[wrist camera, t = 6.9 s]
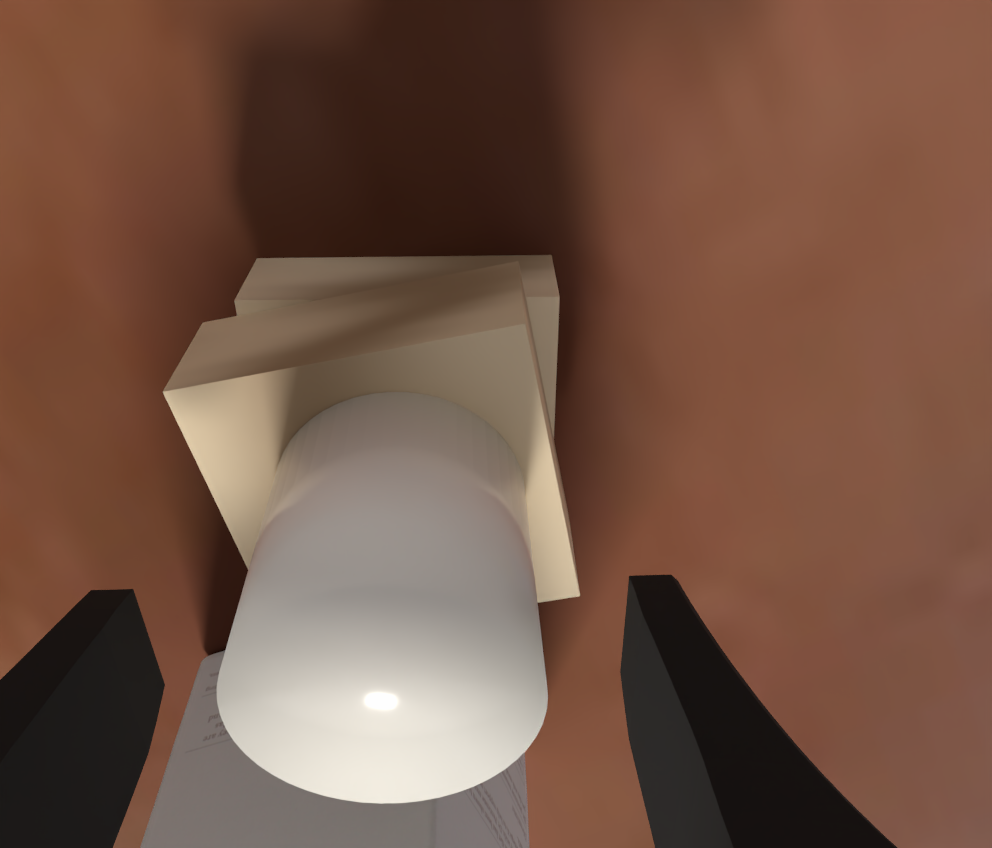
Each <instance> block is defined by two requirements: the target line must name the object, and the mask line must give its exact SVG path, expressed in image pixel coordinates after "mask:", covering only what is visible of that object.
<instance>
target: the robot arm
mask: <svg viewBox="0 0 992 848" xmlns="http://www.w3.org/2000/svg"><path fill="white" fill-rule="evenodd" d="M620 673H621V681H622V689H623V697H624V705H625V713H626V720H627V727H628V735H629V741H630V745H631V749H632V754H633V758H634V762H635V766H636V770H637V774H638V779H639V783H640V787H641V791H642V795H643V799H644V803H645V807H646V812H647V816H648V820H649V824H650V828H651V832H652V836H653V840H654V844H655V848H897V847H896V846H895V845H894V844H893V843H891V842H890V841H889V840H888V839H887V838H886V837H885V836H884V835H883V834H882V833H881V832H880V831H879V830H877V829H876V828H875V827H874V826H873V825H872V824H871V823H870V822H869V821H868V820H867V819H866V818H865V817H864V816H863V815H862V814H861V813H860V812H859V811H858V810H857V809H856V808H855V807H854V806H853V805H852V804H851V803H850V802H849V801H848V800H847V799H846V798H845V797H844V796H843V795H842V794H841V793H840V792H839V791H838V790H837V789H836V788H835V787H834V786H833V784H832V783H831V782H830V781H829V780H828V779H827V778H826V777H825V776H824V775H823V774H822V773H821V772H820V771H819V770H818V769H817V767H816V766H815V765H814V764H813V763H812V762H811V761H810V760H809V759H808V758H807V756H806V755H805V754H804V753H803V752H802V751H801V750H800V748H799V747H798V746H797V745H796V744H795V743H794V742H793V740H792V739H791V738H790V737H789V736H788V734H787V733H786V732H785V731H784V730H783V728H782V727H781V726H780V725H779V724H778V722H777V721H776V720H775V719H774V718H773V717H772V715H771V714H770V713H769V712H768V710H767V709H766V708H765V706H764V705H763V704H762V703H761V701H760V700H759V699H758V698H757V696H756V695H755V694H754V692H753V691H752V690H751V688H750V687H749V686H748V684H747V683H746V682H745V680H744V679H743V678H742V676H741V675H740V674H739V672H738V671H737V670H736V668H735V667H734V666H733V664H732V663H731V662H730V660H729V659H728V658H727V656H726V655H725V653H724V652H723V651H722V649H721V648H720V646H719V645H718V643H717V642H716V640H715V639H714V637H713V636H712V634H711V633H710V632H709V630H708V629H707V627H706V626H705V624H704V623H703V621H702V620H701V618H700V616H699V615H698V613H697V612H696V610H695V609H694V607H693V605H692V604H691V602H690V601H689V599H688V597H687V596H686V594H685V592H684V591H683V589H682V587H681V586H680V584H679V582H678V581H677V580H676V579H675V578H674V577H673V576H672V575H644V576H629V585H628V595H627V606H626V617H625V628H624V639H623V650H622V661H621V672H620ZM164 686H165V684H164V681H163V678H162V675H161V672H160V669H159V666H158V663H157V660H156V657H155V654H154V651H153V648H152V645H151V642H150V639H149V636H148V633H147V630H146V627H145V624H144V621H143V618H142V615H141V612H140V609H139V606H138V603H137V600H136V596H135V593H134V590H133V589H123V590H91V591H90V592H89V593H88V594H87V595H86V596H85V597H84V598H83V599H82V600H81V601H79V602H78V603H77V604H76V605H75V606H74V607H73V608H72V609H71V610H70V611H69V612H68V613H67V614H66V615H65V616H64V617H63V618H62V619H61V620H60V621H59V622H58V623H57V624H56V625H55V626H54V627H53V628H52V629H51V630H50V631H49V632H48V633H47V634H46V635H45V636H44V637H43V638H42V639H41V640H40V641H39V642H38V643H37V644H36V645H35V646H34V647H33V648H32V649H31V650H30V651H29V652H28V653H27V654H26V655H25V656H24V657H23V658H22V659H21V660H20V661H19V662H18V663H17V664H16V665H15V666H14V667H13V668H12V669H11V670H10V671H9V672H8V673H7V674H6V675H5V676H4V677H3V678H2V679H1V680H0V848H113V845H114V843H115V840H116V837H117V835H118V832H119V830H120V827H121V824H122V822H123V819H124V817H125V814H126V811H127V809H128V806H129V804H130V801H131V798H132V796H133V793H134V790H135V788H136V785H137V782H138V780H139V777H140V774H141V772H142V769H143V766H144V764H145V761H146V758H147V755H148V753H149V749H150V745H151V741H152V737H153V733H154V729H155V725H156V721H157V717H158V713H159V708H160V704H161V699H162V695H163V691H164Z"/></svg>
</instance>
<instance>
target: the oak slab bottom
mask: <svg viewBox="0 0 992 848" xmlns="http://www.w3.org/2000/svg"><path fill="white" fill-rule="evenodd" d="M516 261H519V266H520V271H521V276H522V281H523V286H524V291H525V297H526V302H527V307H528V312H529V317H530V322H531V327H532V332H533V337H534V342H535V347H536V352H537V357H538V362H539V367H540V372H541V377H542V382H543V387H544V393H545V398H546V403H547V408H548V413H549V418H550V423H551V428H552V433H553V438H554V424H555V399H556V374H557V349H558V325H559V300H560V296H559V291H558V286H557V280H556V275H555V270H554V265H553V260H552V255H499V256H411V257H324V258H257V259H256V261H255V263H254V265H253V267H252V268H251V270H250V272H249V274H248V276H247V278H246V280H245V281H244V283H243V285H242V287H241V289H240V291H239V293H238V294H237V296H236V298H235V300H234V302H235V307H236V313H237V316H239V315H244V314H249V313H255V312H260V311H265V310H270V309H275V308H280V307H285V306H290V305H296V304H301V303H306V302H311V301H316V300H321V299H326V298H331V297H337V296H342V295H347V294H352V293H357V292H362V291H367V290H372V289H378V288H383V287H388V286H393V285H398V284H403V283H408V282H413V281H419V280H424V279H429V278H434V277H439V276H444V275H449V274H454V273H460V272H465V271H470V270H475V269H480V268H485V267H490V266H495V265H501V264H506V263H511V262H516Z"/></svg>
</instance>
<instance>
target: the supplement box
mask: <svg viewBox="0 0 992 848" xmlns="http://www.w3.org/2000/svg"><path fill="white" fill-rule="evenodd" d="M224 653H225V650H224V651H221V652H218V653H215V654H212V655H209V656H207V657H205V658H204V659H203V660H202V662H201V665H200V667H199V670H198V673H197V676H196V679H195V682H194V685H193V688H192V691H191V694H190V698H189V701H188V704H187V707H186V710H185V713H184V716H183V719H182V722H181V725H180V727H179V730H178V733H177V737H176V740H175V743H174V746H173V749H172V752H171V755H170V758H169V761H168V764H167V767H166V770H165V774H164V777H163V780H162V783H161V786H160V789H159V792H158V795H157V798H156V801H155V804H154V807H153V810H152V813H151V816H150V819H149V823H148V826H147V829H146V832H145V835H144V838H143V841H142V844H141V847H140V848H529V830H528V808H527V786H526V769H525V753H523V754H522V755H521V756H520V757H519V758H518V759H517V760H516V761H515V762H513V763H512V764H511V765H510V766H508V767H507V768H506V769H505V770H503V771H502V772H500V773H498V774H497V775H495V776H494V777H492V778H490V779H488V780H486V781H484V782H482V783H480V784H478V785H476V786H474V787H471V788H469V789H466V790H463V791H460V792H458V793H454V794H451V795H447V796H443V797H440V798H435V799H429V800H424V801H417V802H407V803H384V804H380V803H362V802H354V801H347V800H341V799H336V798H332V797H327V796H323V795H319V794H316V793H313V792H310V791H307V790H304V789H301V788H299V787H296V786H294V785H292V784H289V783H287V782H285V781H283V780H281V779H279V778H278V777H276V776H274V775H272V774H270V773H269V772H267V771H266V770H265V769H263V768H262V767H260V766H259V765H257V764H256V763H255V762H254V761H253V760H251V759H250V758H249V757H248V756H247V755H246V754H245V753H244V752H243V751H242V750H241V749H240V748H239V747H238V745H237V744H236V743H235V742H234V741H233V739H232V738H231V736H230V734H229V733H228V731H227V730H226V728H225V726H224V723H223V721H222V719H221V716H220V713H219V708H218V704H217V681H218V676H219V671H220V667H221V664H222V660H223V657H224Z"/></svg>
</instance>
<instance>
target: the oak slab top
mask: <svg viewBox="0 0 992 848" xmlns="http://www.w3.org/2000/svg"><path fill="white" fill-rule="evenodd" d="M383 392H411V393H419V394H426V395H430V396H434V397H439V398H442V399H445V400H447V401H450V402H453V403H456V404H458V405H460V406H462V407H464V408H466V409H468V410H470V411H472V412H473V413H475V414H476V415H478V416H479V417H481V418H482V419H484V420H485V421H486V422H487V423H488V424H490V425H491V426H492V427H493V428H494V429H495V430H497V432H498V433H499V434H500V435H501V436H502V437H503V438H504V440H505V441H506V442H507V443H508V445H509V446H510V448H511V450H512V451H513V453H514V454H515V456H516V459H517V461H518V463H519V465H520V468H521V472H522V475H523V479H524V487H525V496H526V505H527V514H528V523H529V531H530V540H531V549H532V558H533V567H534V576H535V584H536V593H537V602H538V603H540V602H546V601H552V600H559V599H565V598H571V597H578V596H580V591H579V584H578V577H577V570H576V563H575V556H574V549H573V542H572V535H571V528H570V521H569V514H568V509H567V504H566V499H565V494H564V489H563V484H562V478H561V473H560V468H559V463H558V458H557V453H556V448H555V443H554V438H553V433H552V428H551V423H550V418H549V413H548V408H547V403H546V398H545V393H544V387H543V382H542V377H541V372H540V367H539V362H538V357H537V352H536V347H535V342H534V337H533V332H532V327H531V322H530V317H529V312H528V307H527V302H526V297H525V291H524V286H523V281H522V276H521V271H520V266H519V261H516V262H511V263H506V264H501V265H495V266H490V267H485V268H480V269H475V270H470V271H465V272H460V273H454V274H449V275H444V276H439V277H434V278H429V279H424V280H419V281H413V282H408V283H403V284H398V285H393V286H388V287H383V288H378V289H372V290H367V291H362V292H357V293H352V294H347V295H342V296H337V297H331V298H326V299H321V300H316V301H311V302H306V303H301V304H296V305H290V306H285V307H280V308H275V309H270V310H265V311H260V312H255V313H249V314H244V315H239V316H234V317H229V318H224V319H219V320H213V321H208V322H203V323H202V325H201V326H200V328H199V330H198V332H197V333H196V335H195V337H194V339H193V340H192V342H191V344H190V345H189V347H188V349H187V351H186V352H185V354H184V356H183V358H182V359H181V361H180V363H179V364H178V366H177V368H176V370H175V371H174V373H173V375H172V377H171V378H170V380H169V382H168V383H167V385H166V387H165V389H164V390H163V394H164V396H165V398H166V400H167V402H168V404H169V406H170V408H171V410H172V413H173V415H174V417H175V419H176V421H177V423H178V425H179V427H180V429H181V431H182V433H183V435H184V437H185V440H186V442H187V444H188V446H189V448H190V450H191V452H192V454H193V456H194V458H195V460H196V462H197V464H198V467H199V469H200V471H201V473H202V475H203V477H204V479H205V481H206V483H207V485H208V487H209V489H210V491H211V494H212V496H213V498H214V500H215V502H216V504H217V506H218V508H219V510H220V512H221V514H222V516H223V518H224V521H225V523H226V525H227V527H228V529H229V531H230V533H231V535H232V537H233V539H234V541H235V543H236V545H237V548H238V550H239V552H240V554H241V556H242V558H243V560H244V562H245V564H246V566H247V568H248V569H249V566H250V562H251V559H252V555H253V552H254V548H255V545H256V541H257V538H258V534H259V531H260V527H261V524H262V520H263V517H264V513H265V509H266V506H267V502H268V499H269V495H270V492H271V488H272V485H273V481H274V478H275V474H276V471H277V467H278V464H279V462H280V459H281V457H282V454H283V452H284V450H285V449H286V447H287V445H288V443H289V442H290V440H291V439H292V438H293V437H294V435H295V434H296V433H297V432H298V430H299V429H300V428H302V427H303V426H304V425H305V424H306V423H307V422H308V421H309V420H310V419H312V418H313V417H315V416H316V415H318V414H319V413H321V412H322V411H324V410H326V409H328V408H330V407H332V406H334V405H336V404H338V403H340V402H343V401H346V400H349V399H351V398H354V397H359V396H363V395H368V394H373V393H383Z"/></svg>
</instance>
